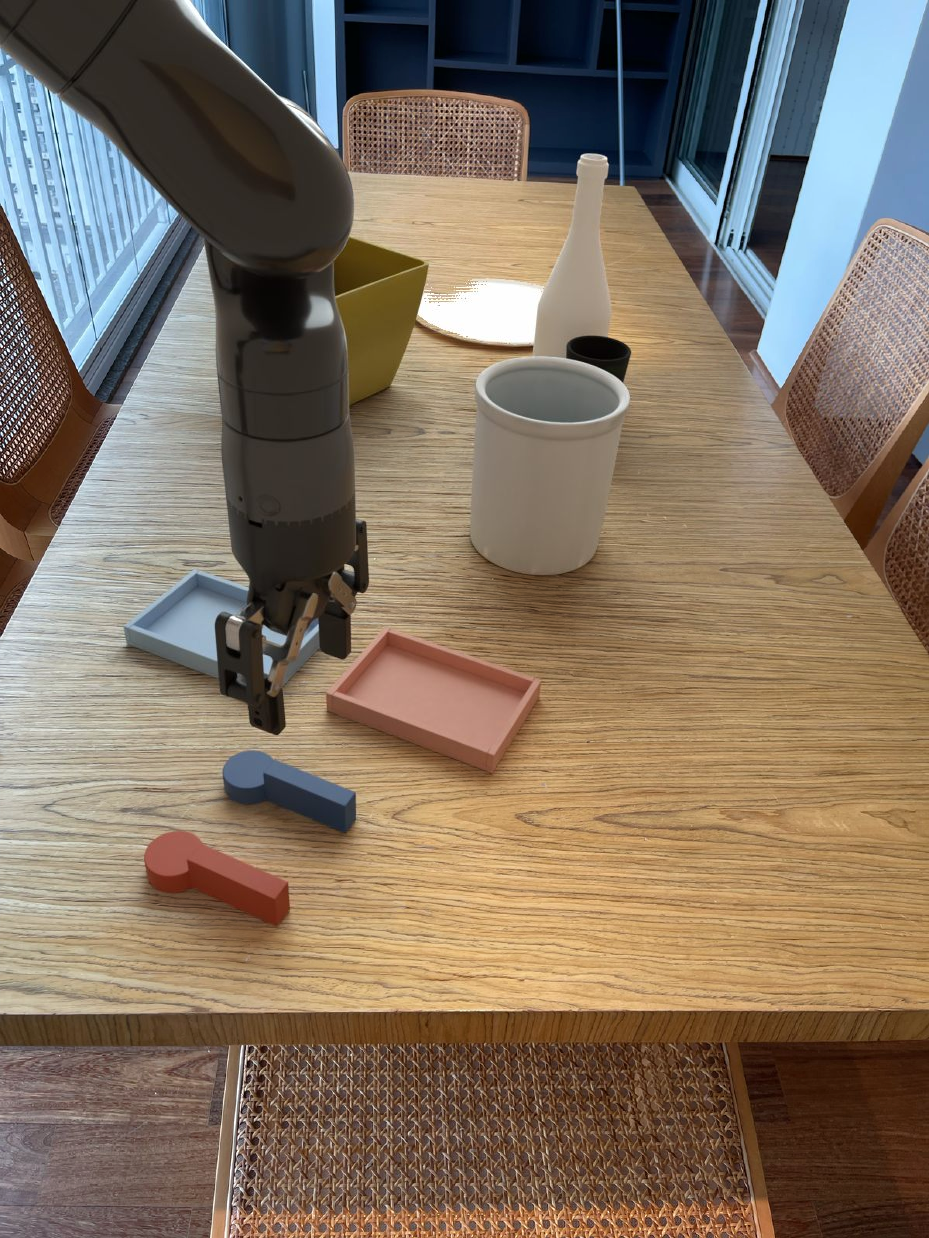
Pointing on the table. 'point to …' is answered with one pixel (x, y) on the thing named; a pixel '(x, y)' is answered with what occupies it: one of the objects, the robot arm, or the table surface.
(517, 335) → the plate
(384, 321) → the flower pot
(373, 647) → the tray pink
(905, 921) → the table surface
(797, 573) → the table surface
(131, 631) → the tray blue
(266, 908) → the spoon red
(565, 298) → the wine bottle
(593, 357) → the cup
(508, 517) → the utensil holder
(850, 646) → the table surface
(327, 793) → the spoon blue
